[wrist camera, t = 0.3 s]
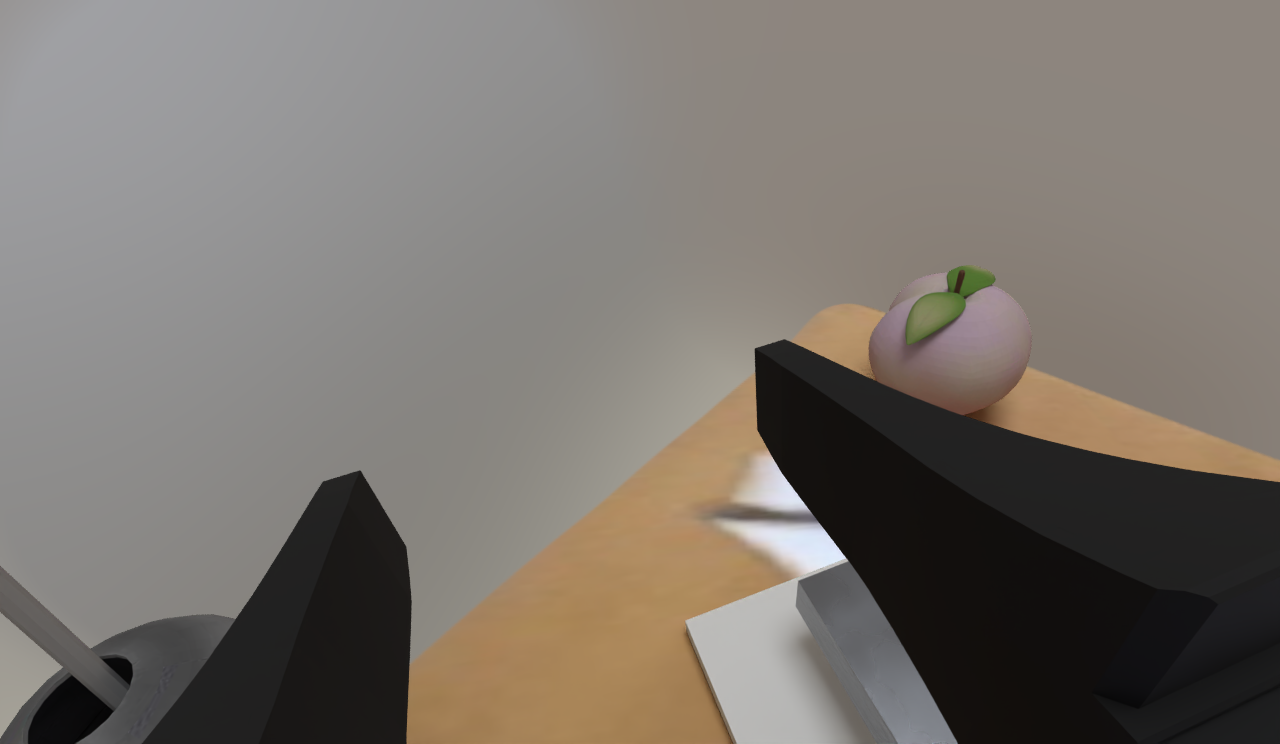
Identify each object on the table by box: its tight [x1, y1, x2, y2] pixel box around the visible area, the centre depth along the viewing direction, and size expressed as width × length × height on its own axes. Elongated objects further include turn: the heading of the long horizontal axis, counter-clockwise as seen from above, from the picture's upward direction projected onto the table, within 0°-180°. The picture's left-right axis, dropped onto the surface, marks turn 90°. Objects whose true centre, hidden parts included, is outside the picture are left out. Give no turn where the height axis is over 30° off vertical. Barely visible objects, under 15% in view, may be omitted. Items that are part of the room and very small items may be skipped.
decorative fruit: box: [869, 265, 1031, 415], centre depth 36 cm, size 9×8×10 cm
